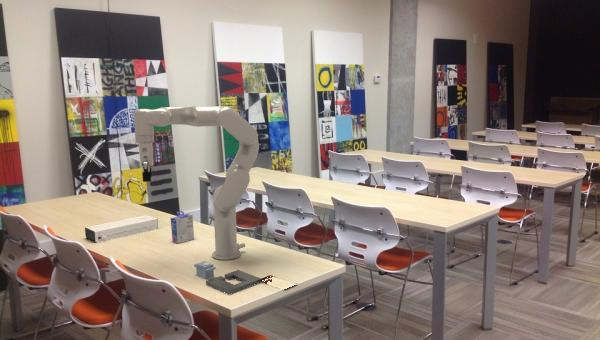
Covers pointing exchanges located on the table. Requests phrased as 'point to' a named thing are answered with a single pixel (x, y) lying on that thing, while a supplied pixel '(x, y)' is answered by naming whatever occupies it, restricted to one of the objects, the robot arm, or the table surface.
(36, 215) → the table surface
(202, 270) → the servo
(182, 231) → the ink cartridge box
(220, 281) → the frame
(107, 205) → the table surface
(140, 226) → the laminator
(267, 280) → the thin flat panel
